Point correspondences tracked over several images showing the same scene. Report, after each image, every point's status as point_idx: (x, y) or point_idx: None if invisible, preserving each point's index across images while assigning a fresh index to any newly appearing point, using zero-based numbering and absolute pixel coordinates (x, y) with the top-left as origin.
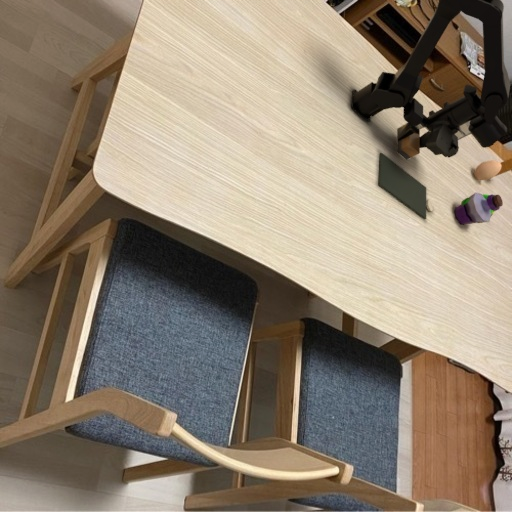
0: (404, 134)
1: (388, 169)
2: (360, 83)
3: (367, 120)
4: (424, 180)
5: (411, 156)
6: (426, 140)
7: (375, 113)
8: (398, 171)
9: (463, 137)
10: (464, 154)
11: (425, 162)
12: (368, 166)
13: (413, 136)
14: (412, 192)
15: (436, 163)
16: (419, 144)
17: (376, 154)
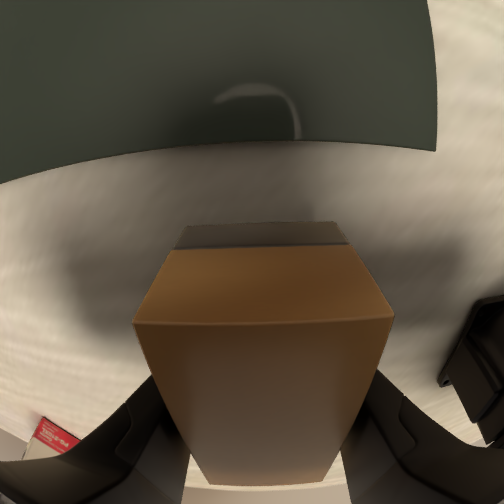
0: (396, 388)
1: (360, 32)
2: (449, 406)
3: (487, 301)
4: (7, 239)
5: (182, 255)
6: (147, 489)
7: (480, 353)
8: (232, 81)
9: (23, 454)
10: (4, 411)
11: (45, 341)
12: (484, 20)
13: (290, 441)
14: (65, 31)
15: (18, 361)
16: (178, 420)
17: (450, 126)
